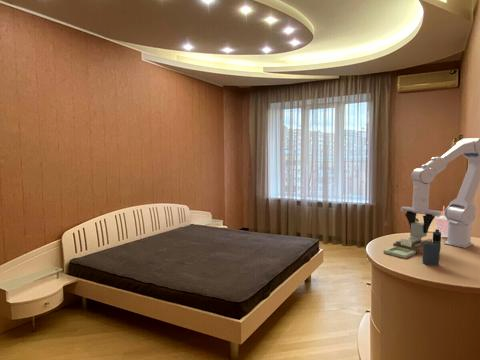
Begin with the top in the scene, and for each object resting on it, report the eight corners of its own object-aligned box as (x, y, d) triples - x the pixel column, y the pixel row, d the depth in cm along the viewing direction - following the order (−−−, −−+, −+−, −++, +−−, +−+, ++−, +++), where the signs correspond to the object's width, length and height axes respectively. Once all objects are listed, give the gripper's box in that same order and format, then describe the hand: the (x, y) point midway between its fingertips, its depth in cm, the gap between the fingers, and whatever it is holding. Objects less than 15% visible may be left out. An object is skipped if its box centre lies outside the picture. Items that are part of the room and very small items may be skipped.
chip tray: (394, 248, 128) (394, 245, 128) (415, 253, 122) (416, 250, 121) (383, 253, 122) (383, 249, 122) (405, 258, 116) (405, 255, 116)
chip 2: (410, 241, 132) (410, 235, 131) (420, 243, 128) (421, 237, 128) (405, 242, 129) (406, 236, 129) (416, 245, 126) (416, 238, 126)
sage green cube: (415, 233, 134) (415, 221, 134) (426, 235, 131) (427, 223, 130) (410, 235, 132) (410, 223, 131) (421, 237, 128) (422, 225, 128)
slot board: (409, 241, 138) (410, 235, 137) (434, 247, 130) (434, 239, 130) (393, 248, 129) (393, 240, 128) (418, 254, 121) (418, 246, 121)
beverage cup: (445, 238, 143) (447, 207, 141) (431, 235, 148) (433, 205, 147) (452, 237, 146) (454, 206, 144) (438, 234, 151) (440, 204, 150)
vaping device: (440, 265, 109) (443, 230, 108) (423, 264, 110) (425, 230, 109) (437, 263, 112) (439, 229, 110) (421, 262, 113) (423, 228, 112)
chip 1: (405, 243, 129) (405, 236, 129) (416, 245, 126) (416, 239, 126) (400, 244, 126) (401, 238, 126) (411, 247, 123) (411, 240, 123)
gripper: (397, 196, 133) (396, 229, 134) (436, 201, 122) (434, 236, 123) (405, 195, 137) (404, 227, 139) (443, 199, 126) (441, 233, 127)
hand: (418, 231), depth 131 cm, fingers closed on sage green cube, 4 cm apart
